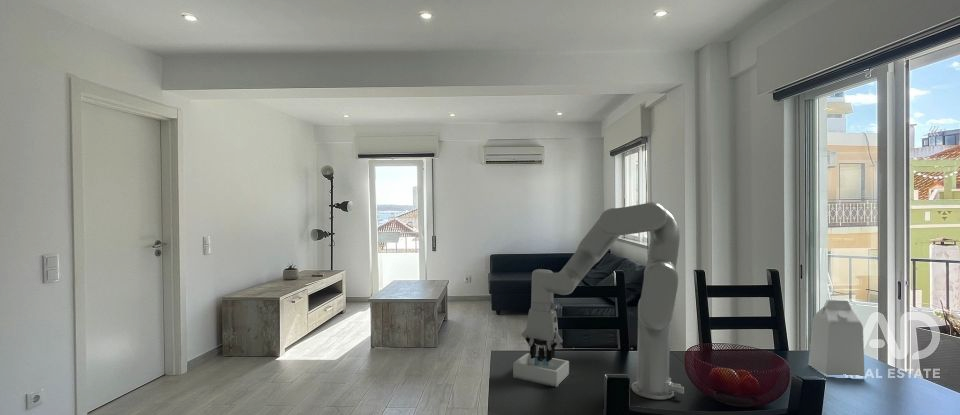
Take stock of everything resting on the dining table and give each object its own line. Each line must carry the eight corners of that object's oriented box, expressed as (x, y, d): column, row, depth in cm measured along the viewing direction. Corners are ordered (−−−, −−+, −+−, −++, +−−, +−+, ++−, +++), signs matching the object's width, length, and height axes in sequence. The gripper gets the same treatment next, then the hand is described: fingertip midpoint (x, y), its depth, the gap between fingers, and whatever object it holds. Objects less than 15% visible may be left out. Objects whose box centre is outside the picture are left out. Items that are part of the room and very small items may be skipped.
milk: (844, 368, 170) (846, 297, 170) (864, 380, 159) (866, 304, 158) (808, 365, 172) (810, 295, 172) (825, 377, 161) (827, 302, 161)
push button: (552, 362, 161) (553, 334, 161) (553, 368, 156) (553, 338, 155) (533, 361, 162) (533, 333, 161) (533, 367, 156) (533, 337, 156)
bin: (568, 375, 160) (569, 361, 160) (556, 387, 150) (556, 371, 150) (527, 366, 168) (527, 353, 168) (513, 377, 158) (513, 362, 158)
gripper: (570, 307, 157) (568, 360, 158) (524, 300, 166) (523, 351, 166) (562, 311, 151) (561, 367, 151) (514, 304, 160) (513, 357, 160)
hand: (541, 358), depth 159 cm, fingers closed on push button, 5 cm apart
